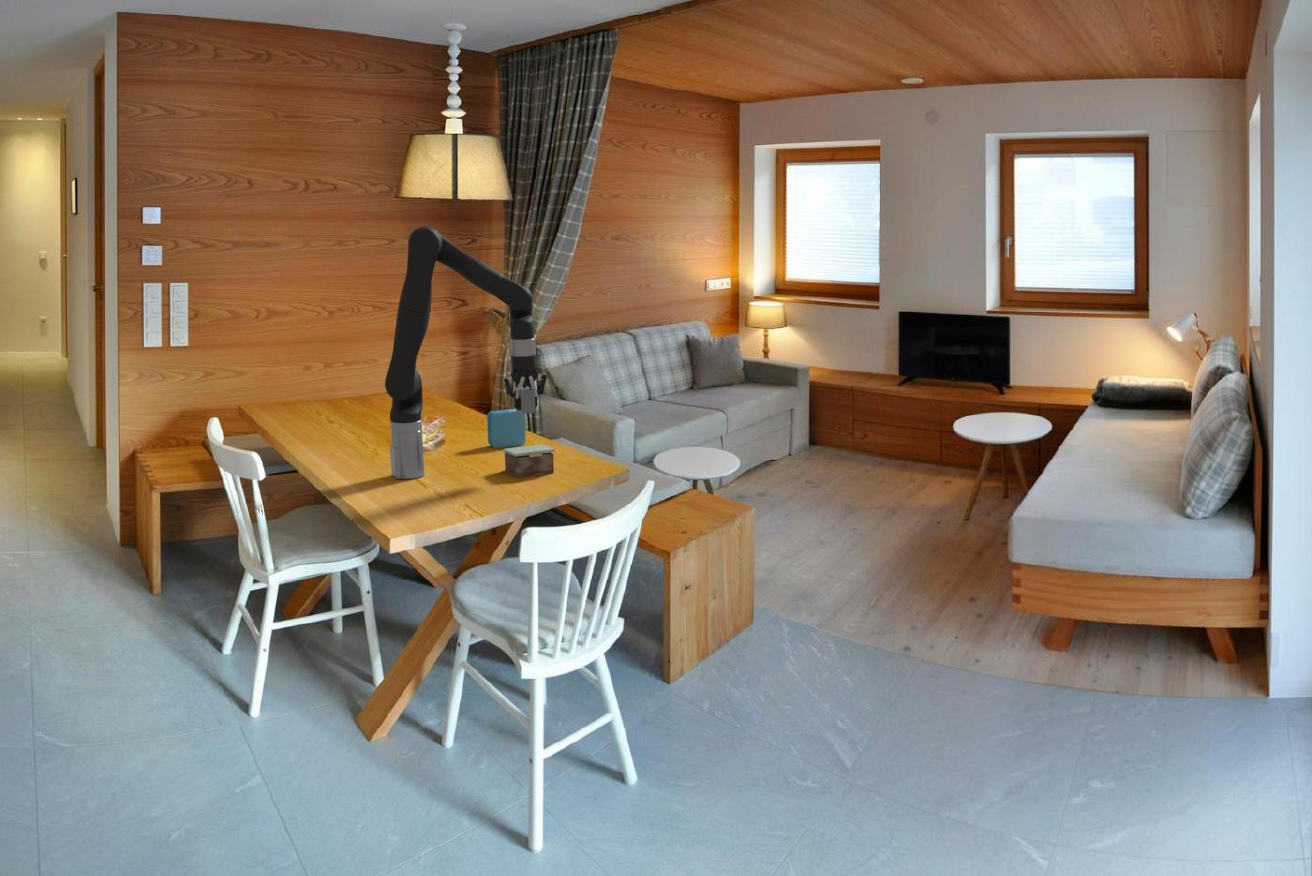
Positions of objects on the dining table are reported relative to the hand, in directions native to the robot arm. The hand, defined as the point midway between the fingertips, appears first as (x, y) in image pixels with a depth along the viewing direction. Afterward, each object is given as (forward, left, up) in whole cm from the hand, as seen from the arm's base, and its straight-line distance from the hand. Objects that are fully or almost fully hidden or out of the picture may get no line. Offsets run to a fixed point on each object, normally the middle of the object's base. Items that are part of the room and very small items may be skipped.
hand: (526, 409), depth 318 cm
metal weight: (0, 0, -1) cm, 1 cm away
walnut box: (+1, +1, -20) cm, 20 cm away
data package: (+7, +38, -20) cm, 43 cm away
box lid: (+1, 0, -14) cm, 14 cm away
